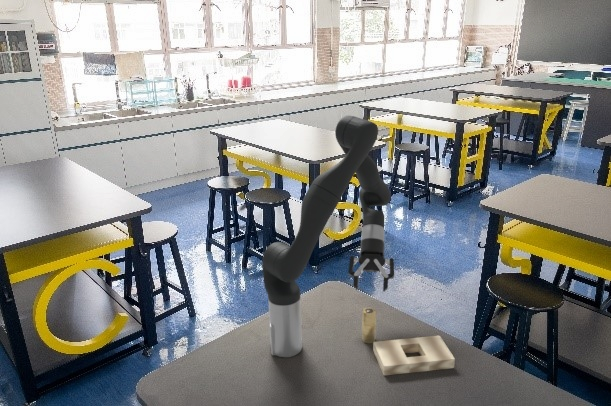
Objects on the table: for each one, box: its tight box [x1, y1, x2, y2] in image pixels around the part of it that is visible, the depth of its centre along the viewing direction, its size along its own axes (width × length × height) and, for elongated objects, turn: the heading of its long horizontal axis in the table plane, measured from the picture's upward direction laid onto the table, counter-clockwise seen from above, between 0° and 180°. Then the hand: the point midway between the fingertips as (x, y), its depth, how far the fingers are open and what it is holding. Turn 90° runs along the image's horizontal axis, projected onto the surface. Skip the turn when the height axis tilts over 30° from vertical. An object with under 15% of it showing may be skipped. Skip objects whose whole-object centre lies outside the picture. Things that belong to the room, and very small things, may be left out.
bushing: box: [361, 306, 377, 344], centre depth 146 cm, size 4×4×10 cm
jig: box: [372, 335, 456, 376], centre depth 138 cm, size 20×11×3 cm, turn 97°
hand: (370, 290), depth 151 cm, fingers open, 8 cm apart
